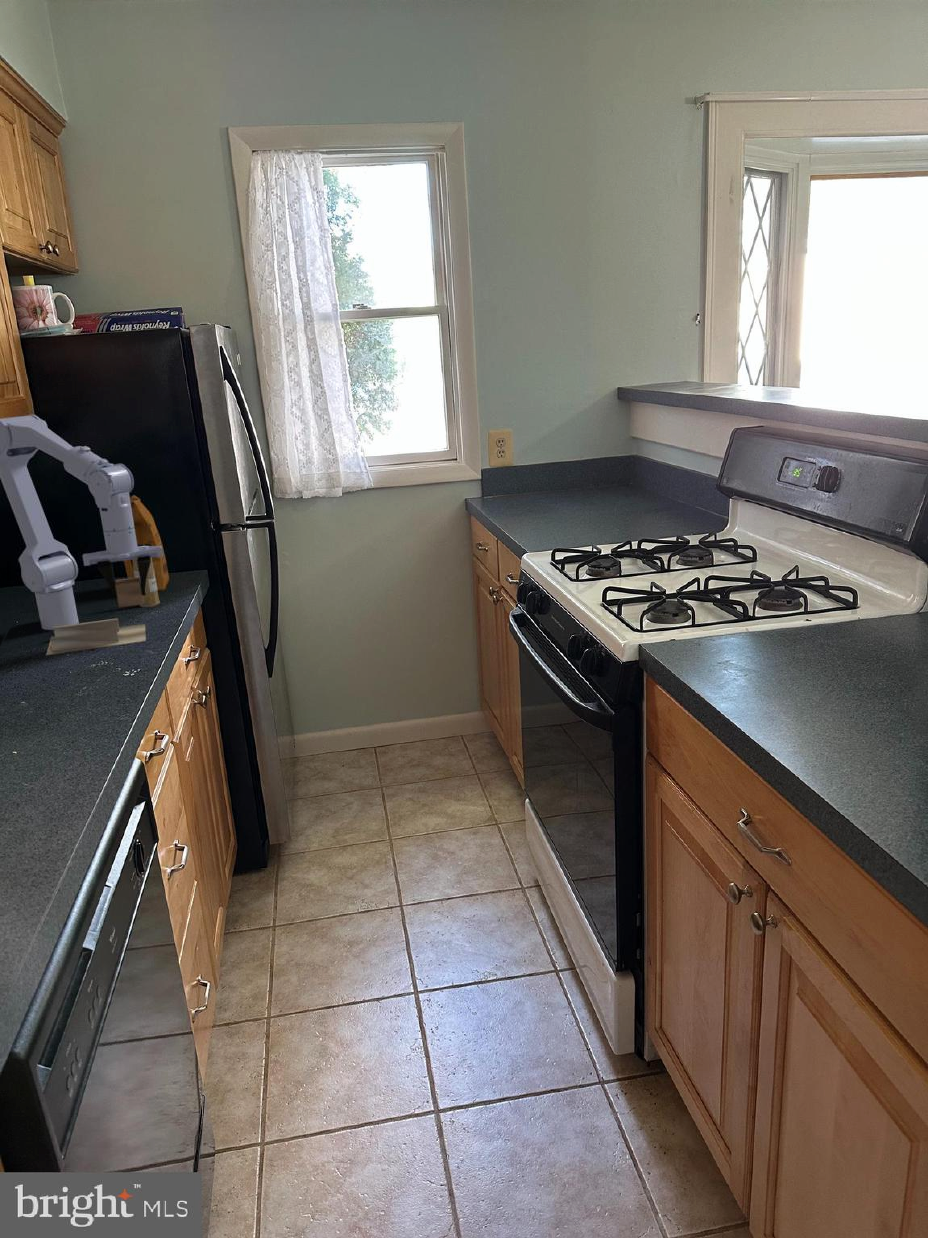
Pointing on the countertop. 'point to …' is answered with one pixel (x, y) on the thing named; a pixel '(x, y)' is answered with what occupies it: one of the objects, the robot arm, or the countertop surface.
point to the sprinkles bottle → (148, 585)
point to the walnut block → (129, 592)
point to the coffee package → (147, 542)
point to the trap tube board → (93, 636)
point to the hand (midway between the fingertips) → (130, 595)
